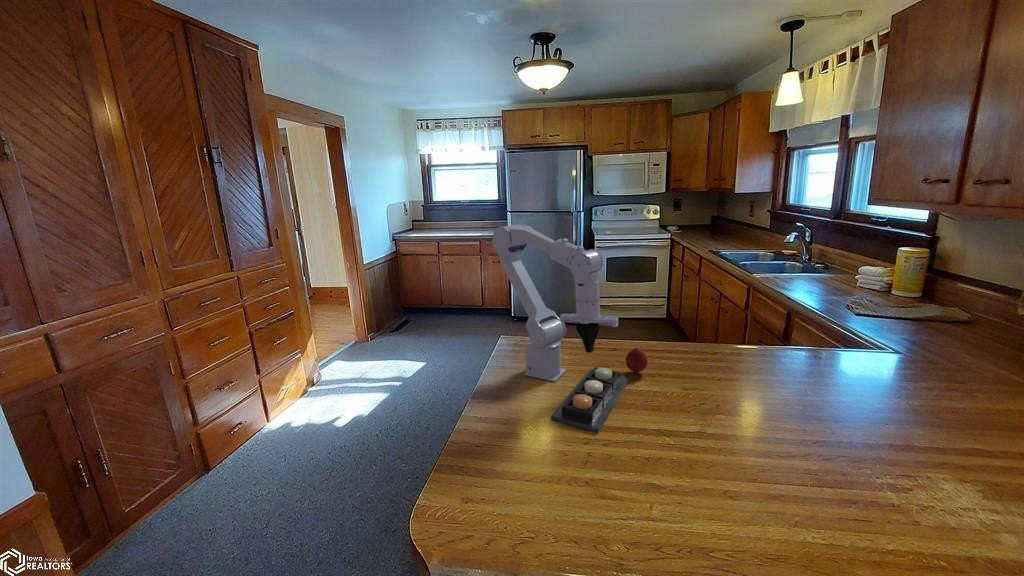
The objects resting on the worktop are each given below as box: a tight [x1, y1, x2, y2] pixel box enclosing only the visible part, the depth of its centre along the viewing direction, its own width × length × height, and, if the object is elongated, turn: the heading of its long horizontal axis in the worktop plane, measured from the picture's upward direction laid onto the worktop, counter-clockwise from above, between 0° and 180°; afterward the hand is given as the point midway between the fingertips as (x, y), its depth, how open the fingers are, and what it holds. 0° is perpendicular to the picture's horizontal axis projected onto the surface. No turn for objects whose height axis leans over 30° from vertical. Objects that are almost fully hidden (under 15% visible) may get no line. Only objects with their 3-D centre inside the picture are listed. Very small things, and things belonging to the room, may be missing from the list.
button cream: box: [585, 380, 603, 395], centre depth 101 cm, size 4×4×2 cm
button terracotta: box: [573, 394, 592, 411], centre depth 95 cm, size 4×4×2 cm
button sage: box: [595, 367, 612, 381], centre depth 108 cm, size 4×4×2 cm
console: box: [550, 366, 631, 434], centre depth 102 cm, size 11×27×3 cm, turn 151°
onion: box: [625, 345, 649, 374], centre depth 114 cm, size 6×6×8 cm
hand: (589, 351), depth 105 cm, fingers closed
